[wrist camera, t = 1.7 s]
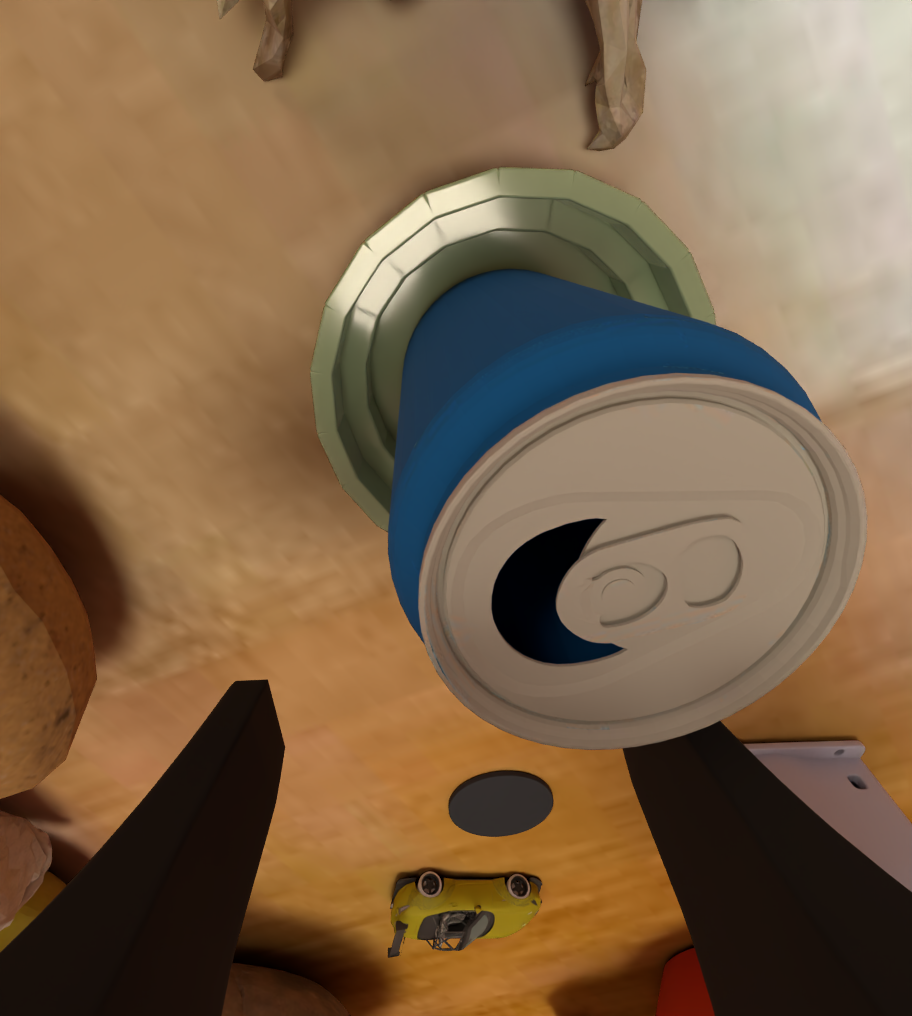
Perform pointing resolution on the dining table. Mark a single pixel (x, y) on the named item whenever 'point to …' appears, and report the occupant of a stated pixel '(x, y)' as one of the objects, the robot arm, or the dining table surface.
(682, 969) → the decorative vase
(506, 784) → the coaster
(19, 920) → the apple
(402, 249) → the green bowl
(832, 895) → the robot arm
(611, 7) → the branching beige root
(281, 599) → the dining table surface
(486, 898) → the toy car
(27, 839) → the seashell
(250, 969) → the bowl
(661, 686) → the beverage can
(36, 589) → the potato
